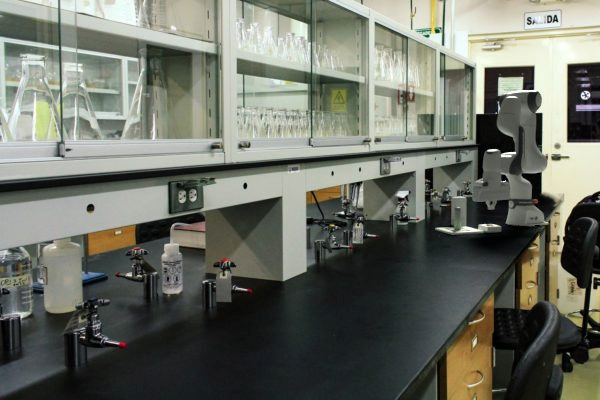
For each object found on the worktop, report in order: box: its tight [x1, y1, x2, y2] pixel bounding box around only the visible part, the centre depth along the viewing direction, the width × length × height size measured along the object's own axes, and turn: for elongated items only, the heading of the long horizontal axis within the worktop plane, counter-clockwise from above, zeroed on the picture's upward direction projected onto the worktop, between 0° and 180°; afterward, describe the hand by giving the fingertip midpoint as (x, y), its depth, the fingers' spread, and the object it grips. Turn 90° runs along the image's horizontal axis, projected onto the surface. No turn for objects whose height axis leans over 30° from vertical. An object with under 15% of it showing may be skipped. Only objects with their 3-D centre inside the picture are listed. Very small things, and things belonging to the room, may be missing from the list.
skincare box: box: [450, 195, 467, 227], centre depth 329 cm, size 8×7×16 cm
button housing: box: [477, 223, 502, 234], centre depth 312 cm, size 8×8×3 cm
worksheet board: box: [434, 225, 485, 236], centre depth 311 cm, size 18×16×1 cm
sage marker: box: [454, 207, 461, 230], centre depth 310 cm, size 3×3×11 cm
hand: (491, 209), depth 311 cm, fingers closed
